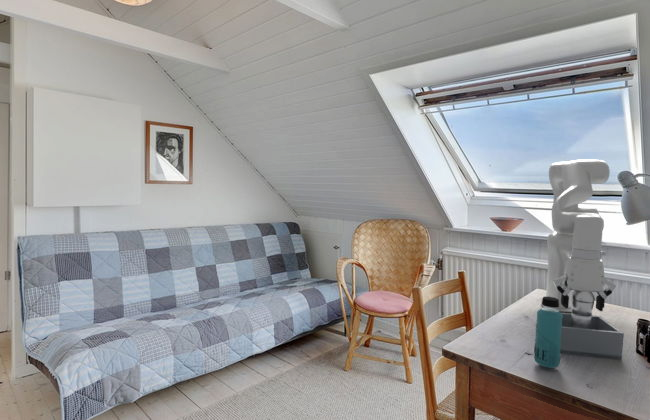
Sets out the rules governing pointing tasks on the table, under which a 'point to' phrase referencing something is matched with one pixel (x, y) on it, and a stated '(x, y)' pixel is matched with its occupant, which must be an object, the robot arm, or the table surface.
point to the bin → (591, 339)
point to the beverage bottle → (548, 334)
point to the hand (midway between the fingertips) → (581, 308)
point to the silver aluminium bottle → (581, 309)
